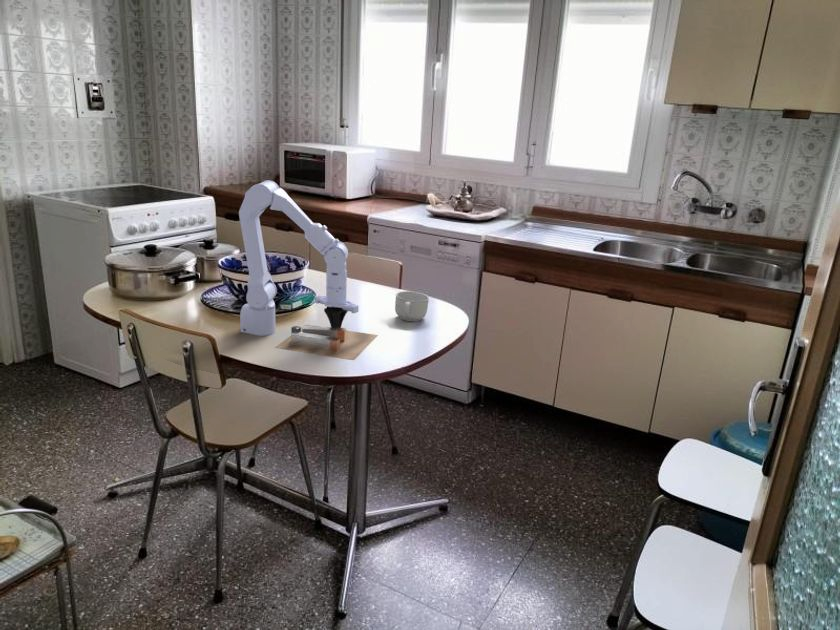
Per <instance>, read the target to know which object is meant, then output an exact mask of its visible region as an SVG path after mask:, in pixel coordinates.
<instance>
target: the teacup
mask: <svg viewBox="0 0 840 630" xmlns="http://www.w3.org/2000/svg"><path fill="white" fill-rule="evenodd" d="M429 301H430V297H429V296H428V294H425V293H423V292H420V291H419V292H418V291H412V290H407V291H406V290H405V291H398V292H396V293H395V302H394V304H395V305H394V311H395V313H396V315H397V316H398V317H399V318H400V320H403V321H407V322H419V321H420V320H421V319H422V320H423V318H425V317H426V316H427V312H428V307H429Z"/></svg>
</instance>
